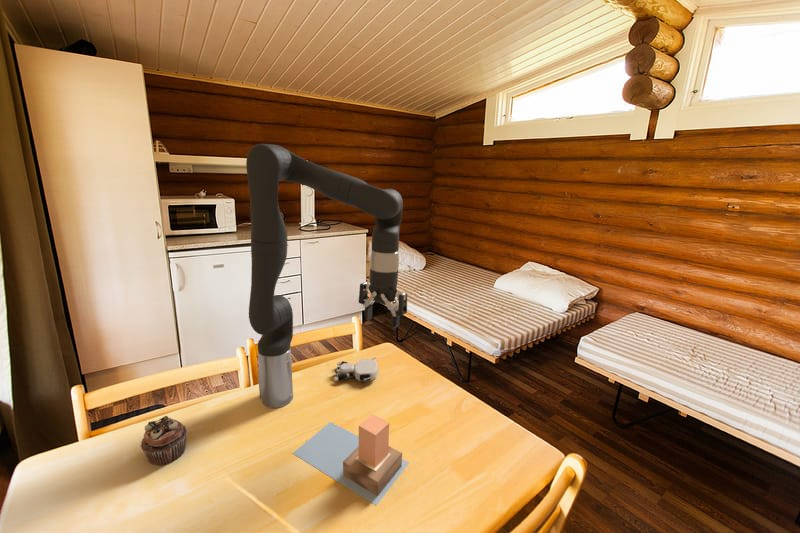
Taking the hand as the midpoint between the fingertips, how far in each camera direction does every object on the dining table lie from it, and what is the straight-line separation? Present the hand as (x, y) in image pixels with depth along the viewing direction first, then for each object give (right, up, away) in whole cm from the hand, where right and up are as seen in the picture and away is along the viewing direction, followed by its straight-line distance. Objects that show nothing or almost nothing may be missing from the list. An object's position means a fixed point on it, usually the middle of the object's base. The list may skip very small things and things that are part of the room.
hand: (381, 323), depth 99 cm
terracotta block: (-1, -29, -14) cm, 32 cm away
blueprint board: (-7, -33, -9) cm, 35 cm away
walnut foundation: (-1, -33, -13) cm, 36 cm away
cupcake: (-53, -31, -9) cm, 62 cm away
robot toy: (-10, -23, +27) cm, 37 cm away
